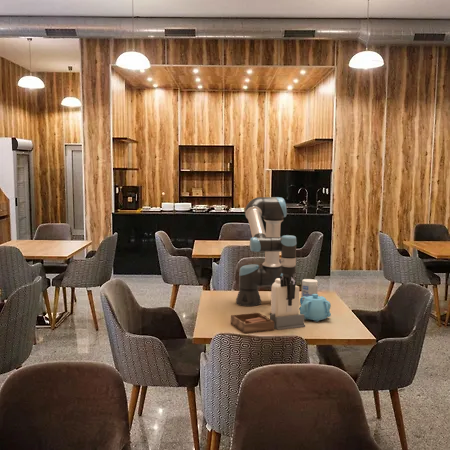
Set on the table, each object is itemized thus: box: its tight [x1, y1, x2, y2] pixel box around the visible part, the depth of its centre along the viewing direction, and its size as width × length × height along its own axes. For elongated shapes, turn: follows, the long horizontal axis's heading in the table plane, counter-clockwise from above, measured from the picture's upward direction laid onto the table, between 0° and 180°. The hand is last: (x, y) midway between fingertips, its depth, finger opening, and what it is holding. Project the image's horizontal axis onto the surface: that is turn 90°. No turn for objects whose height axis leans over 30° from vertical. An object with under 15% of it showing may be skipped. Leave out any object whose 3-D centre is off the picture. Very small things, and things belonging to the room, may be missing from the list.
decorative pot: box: [299, 293, 332, 322], centre depth 284 cm, size 16×16×14 cm
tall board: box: [275, 285, 300, 317], centre depth 269 cm, size 3×12×18 cm, turn 112°
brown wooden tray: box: [230, 312, 275, 334], centre depth 267 cm, size 18×16×4 cm
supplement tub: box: [300, 278, 319, 302], centre depth 316 cm, size 10×10×15 cm
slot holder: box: [269, 313, 306, 331], centre depth 270 cm, size 10×16×6 cm, turn 112°
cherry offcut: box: [245, 317, 266, 324], centre depth 264 cm, size 6×9×2 cm, turn 124°
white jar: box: [270, 278, 281, 314], centre depth 293 cm, size 12×12×20 cm
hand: (287, 310), depth 269 cm, fingers closed on tall board, 3 cm apart
